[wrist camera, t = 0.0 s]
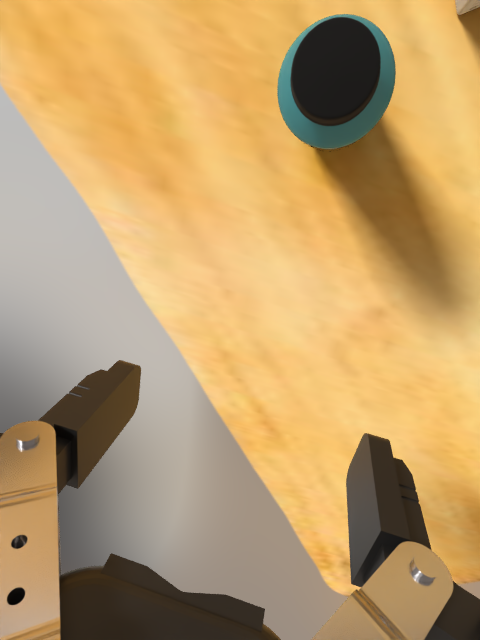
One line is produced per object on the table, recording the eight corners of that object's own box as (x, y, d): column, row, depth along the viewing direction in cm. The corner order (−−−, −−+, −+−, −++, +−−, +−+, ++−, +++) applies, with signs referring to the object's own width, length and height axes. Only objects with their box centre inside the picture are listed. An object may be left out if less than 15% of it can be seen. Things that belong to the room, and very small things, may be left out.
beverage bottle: (384, 86, 32) (453, 1, 14) (348, 163, 35) (367, 173, 17) (315, 57, 32) (298, -60, 15) (285, 137, 35) (240, 120, 18)
